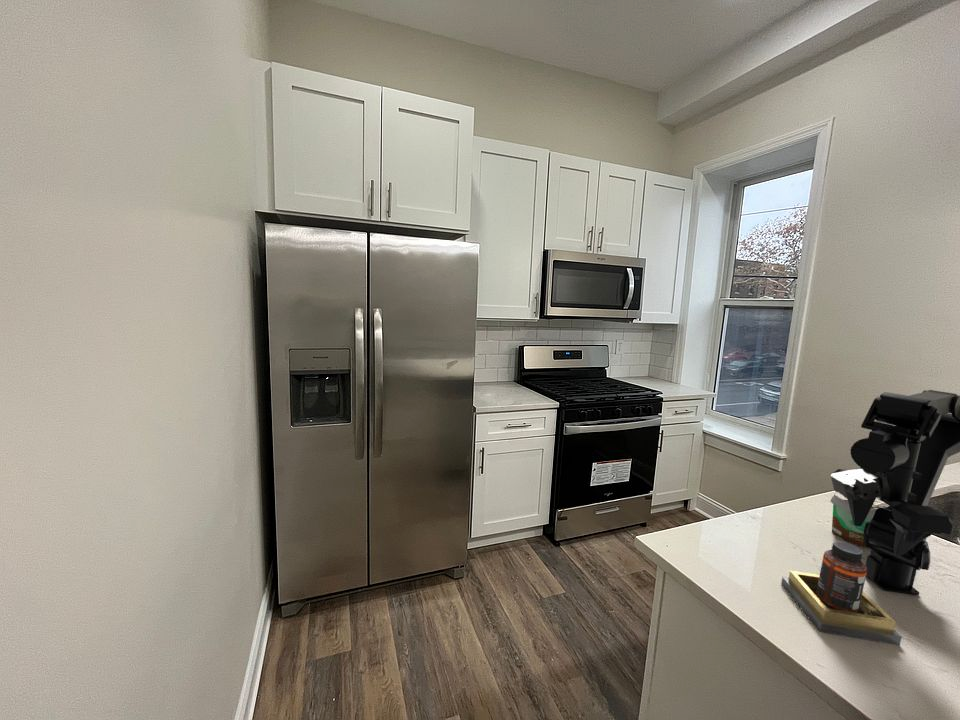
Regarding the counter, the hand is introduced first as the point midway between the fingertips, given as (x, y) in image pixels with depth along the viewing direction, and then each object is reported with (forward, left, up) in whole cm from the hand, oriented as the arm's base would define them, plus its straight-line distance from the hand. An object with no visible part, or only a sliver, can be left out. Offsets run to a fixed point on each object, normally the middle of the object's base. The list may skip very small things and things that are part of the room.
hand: (876, 539), depth 75 cm
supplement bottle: (+8, +5, -11) cm, 14 cm away
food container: (-14, -22, -13) cm, 29 cm away
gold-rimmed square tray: (+8, +5, -13) cm, 16 cm away
